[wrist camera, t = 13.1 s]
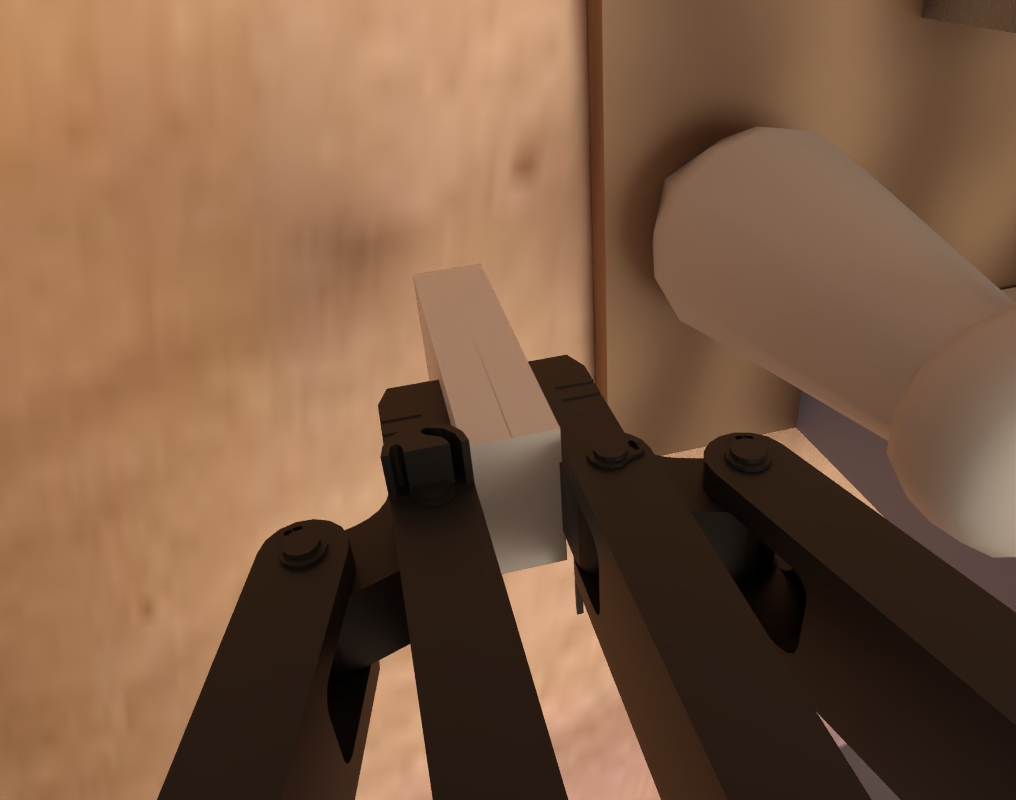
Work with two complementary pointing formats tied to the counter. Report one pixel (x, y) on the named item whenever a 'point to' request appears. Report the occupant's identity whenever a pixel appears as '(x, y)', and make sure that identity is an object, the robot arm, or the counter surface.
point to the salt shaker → (852, 314)
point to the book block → (898, 492)
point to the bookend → (974, 13)
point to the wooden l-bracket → (790, 105)
